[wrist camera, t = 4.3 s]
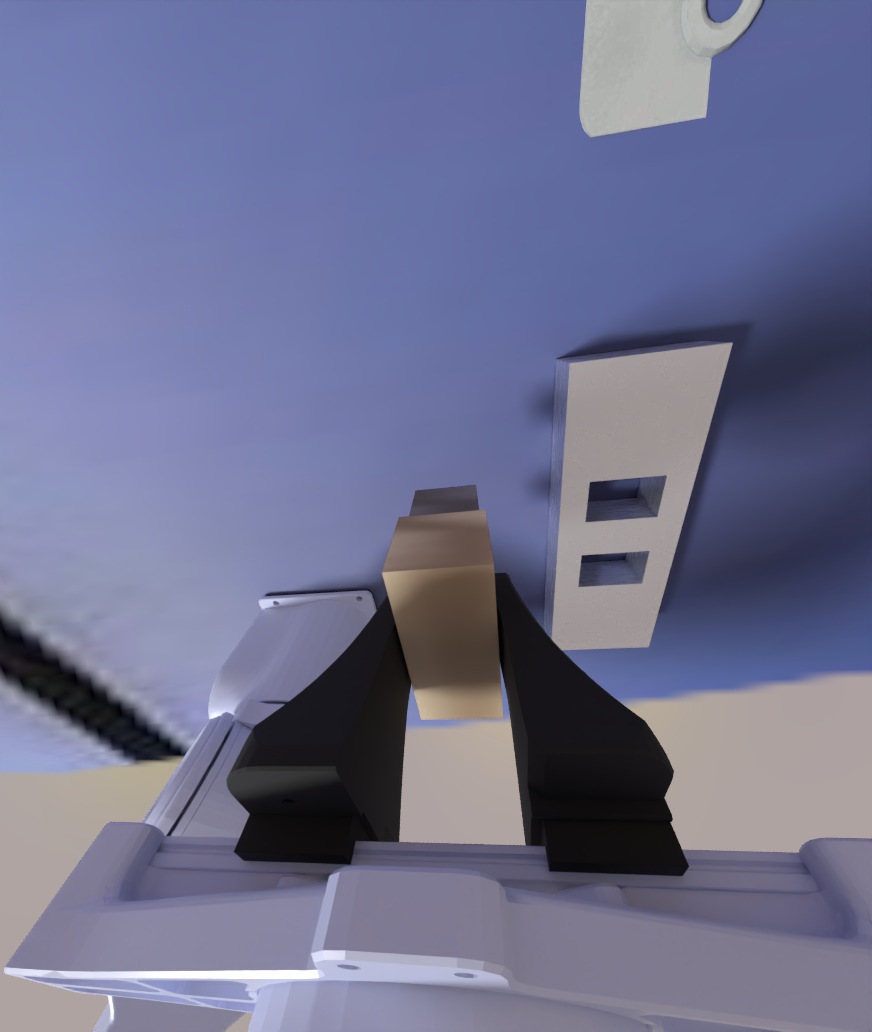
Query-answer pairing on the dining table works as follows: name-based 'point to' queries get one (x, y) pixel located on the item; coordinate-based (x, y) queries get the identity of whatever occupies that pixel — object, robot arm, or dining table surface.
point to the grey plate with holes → (623, 455)
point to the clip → (446, 604)
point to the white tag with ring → (651, 61)
